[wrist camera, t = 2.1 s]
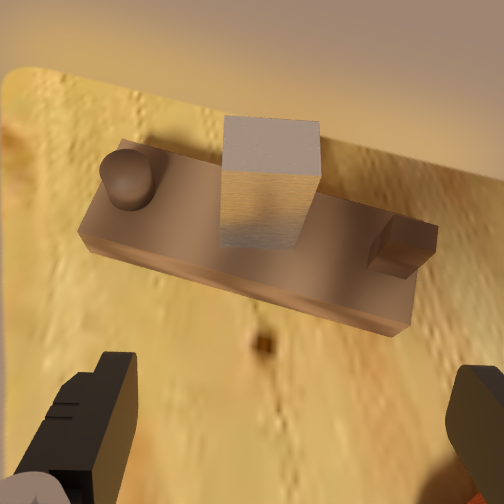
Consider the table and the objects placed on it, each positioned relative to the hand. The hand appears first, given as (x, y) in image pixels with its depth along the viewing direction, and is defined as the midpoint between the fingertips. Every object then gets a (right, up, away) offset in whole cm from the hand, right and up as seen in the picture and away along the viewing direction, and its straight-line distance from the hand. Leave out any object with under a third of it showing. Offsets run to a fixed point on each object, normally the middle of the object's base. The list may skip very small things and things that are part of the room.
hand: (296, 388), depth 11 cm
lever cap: (-1, +5, +17) cm, 17 cm away
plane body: (-1, +4, +19) cm, 20 cm away
